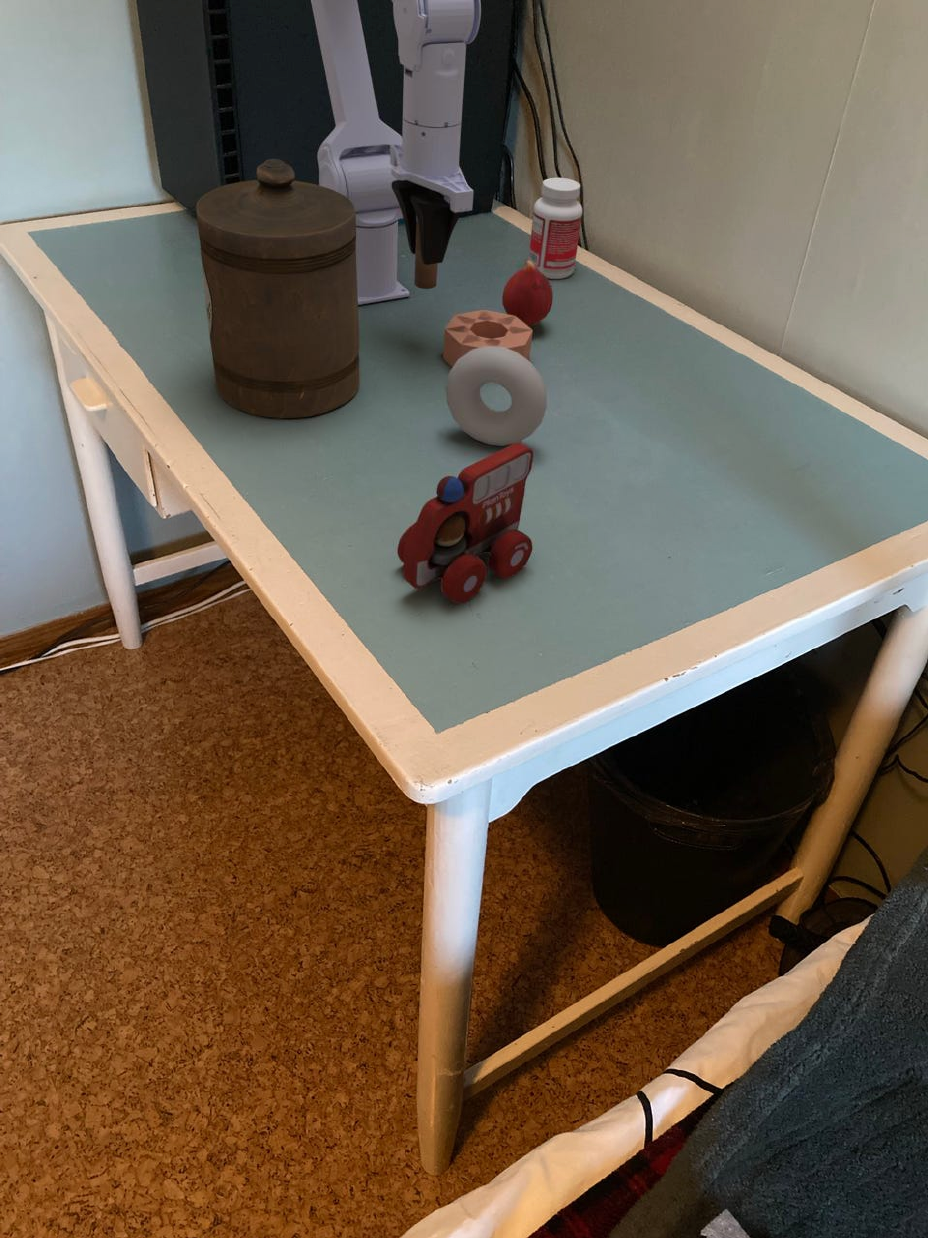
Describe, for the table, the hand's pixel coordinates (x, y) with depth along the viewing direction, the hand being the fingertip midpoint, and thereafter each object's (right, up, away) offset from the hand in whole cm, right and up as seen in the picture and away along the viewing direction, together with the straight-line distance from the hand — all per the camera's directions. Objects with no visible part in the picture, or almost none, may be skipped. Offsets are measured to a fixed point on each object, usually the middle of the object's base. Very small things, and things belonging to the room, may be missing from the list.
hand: (426, 256), depth 103 cm
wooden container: (-14, -14, -2) cm, 20 cm away
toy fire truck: (+4, -35, -22) cm, 41 cm away
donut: (+7, -21, -7) cm, 23 cm away
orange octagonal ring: (+7, -10, +5) cm, 13 cm away
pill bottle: (+15, +7, +24) cm, 29 cm away
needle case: (0, -2, +2) cm, 3 cm away
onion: (+11, -4, +11) cm, 16 cm away
